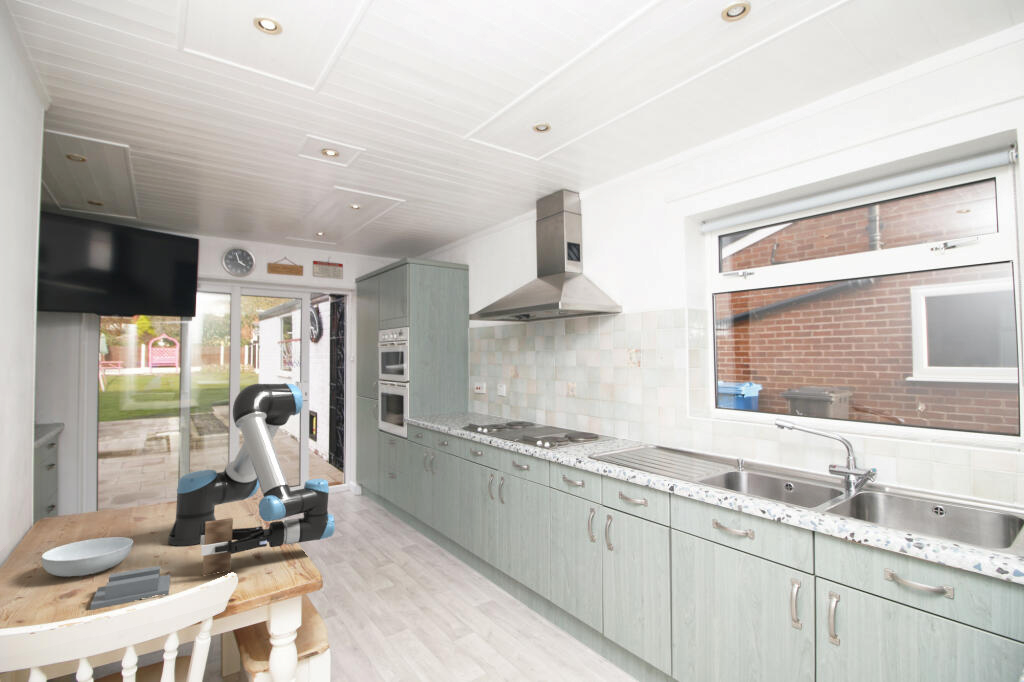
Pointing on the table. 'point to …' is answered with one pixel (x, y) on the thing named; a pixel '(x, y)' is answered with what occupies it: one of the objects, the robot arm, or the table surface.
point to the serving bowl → (86, 556)
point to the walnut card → (215, 534)
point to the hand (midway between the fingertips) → (200, 545)
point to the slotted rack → (131, 587)
